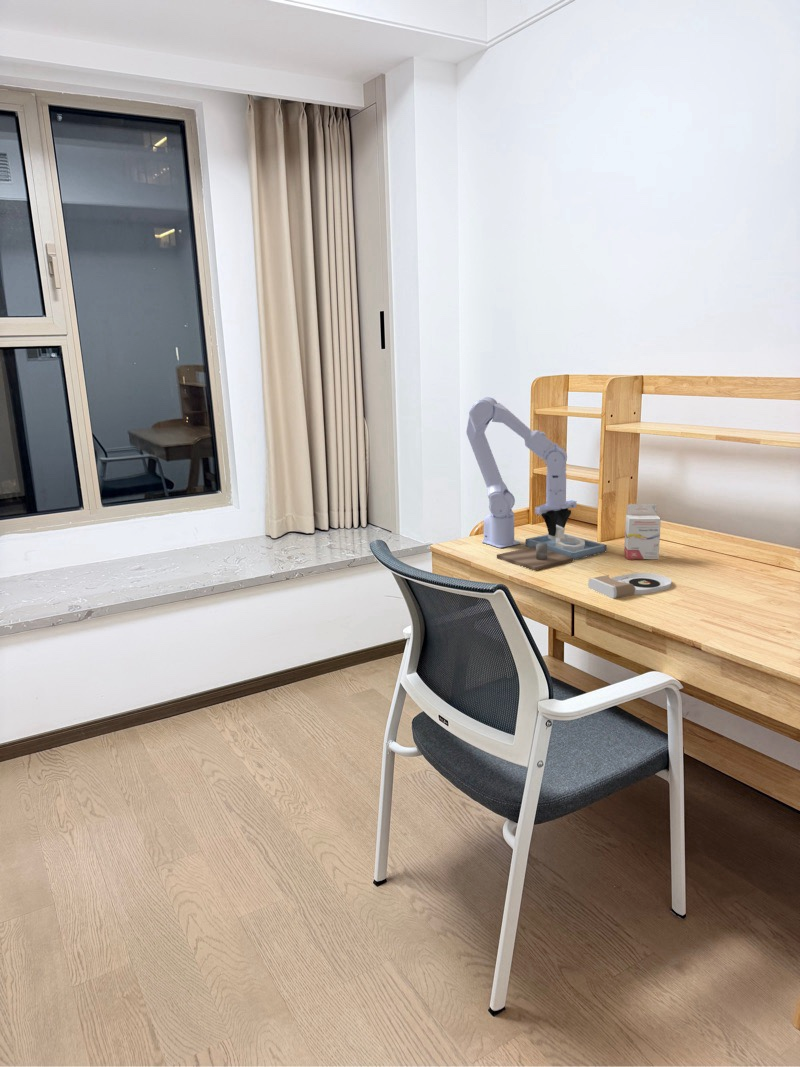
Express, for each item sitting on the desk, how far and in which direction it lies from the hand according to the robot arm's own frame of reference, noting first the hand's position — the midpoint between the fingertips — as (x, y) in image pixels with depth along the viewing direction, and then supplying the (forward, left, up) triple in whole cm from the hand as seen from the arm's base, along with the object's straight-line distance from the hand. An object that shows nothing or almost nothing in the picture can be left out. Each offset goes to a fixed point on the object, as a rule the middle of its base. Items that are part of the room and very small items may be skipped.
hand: (555, 534), depth 222 cm
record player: (+40, -12, -4) cm, 42 cm away
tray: (+4, 0, -3) cm, 5 cm away
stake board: (+7, -15, -3) cm, 16 cm away
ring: (+4, 0, -2) cm, 4 cm away
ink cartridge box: (+24, +9, -4) cm, 26 cm away
